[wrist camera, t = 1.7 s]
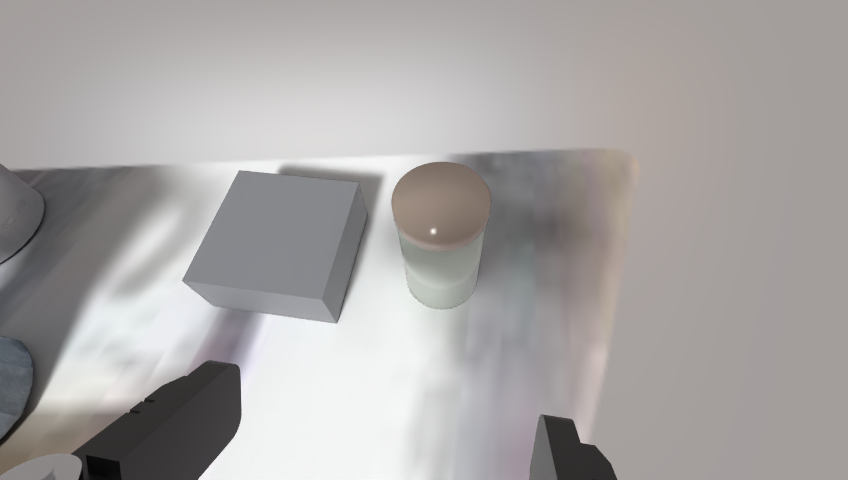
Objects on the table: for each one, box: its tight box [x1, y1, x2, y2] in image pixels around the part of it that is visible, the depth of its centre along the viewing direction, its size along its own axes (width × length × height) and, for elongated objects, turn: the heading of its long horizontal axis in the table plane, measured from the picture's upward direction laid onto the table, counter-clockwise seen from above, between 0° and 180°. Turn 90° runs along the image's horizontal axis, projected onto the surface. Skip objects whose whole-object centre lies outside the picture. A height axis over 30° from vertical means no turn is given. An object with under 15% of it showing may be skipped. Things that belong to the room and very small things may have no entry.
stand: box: [182, 170, 367, 323], centre depth 28 cm, size 9×9×4 cm
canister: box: [392, 162, 491, 309], centre depth 25 cm, size 5×5×9 cm
